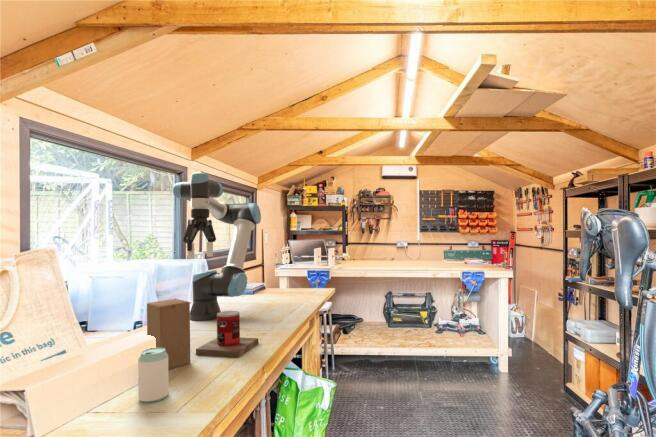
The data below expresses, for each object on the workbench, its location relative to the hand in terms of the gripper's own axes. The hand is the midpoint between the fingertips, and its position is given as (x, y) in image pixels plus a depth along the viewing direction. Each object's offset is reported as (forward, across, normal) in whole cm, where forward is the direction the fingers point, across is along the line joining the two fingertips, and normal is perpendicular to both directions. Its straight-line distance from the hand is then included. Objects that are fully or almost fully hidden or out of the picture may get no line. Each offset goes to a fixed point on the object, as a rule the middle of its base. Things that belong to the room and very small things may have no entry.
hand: (200, 257), depth 161 cm
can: (+32, -59, -26) cm, 72 cm away
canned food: (+30, -19, -24) cm, 43 cm away
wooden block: (+32, -37, -13) cm, 51 cm away
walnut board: (+32, -19, -24) cm, 44 cm away
